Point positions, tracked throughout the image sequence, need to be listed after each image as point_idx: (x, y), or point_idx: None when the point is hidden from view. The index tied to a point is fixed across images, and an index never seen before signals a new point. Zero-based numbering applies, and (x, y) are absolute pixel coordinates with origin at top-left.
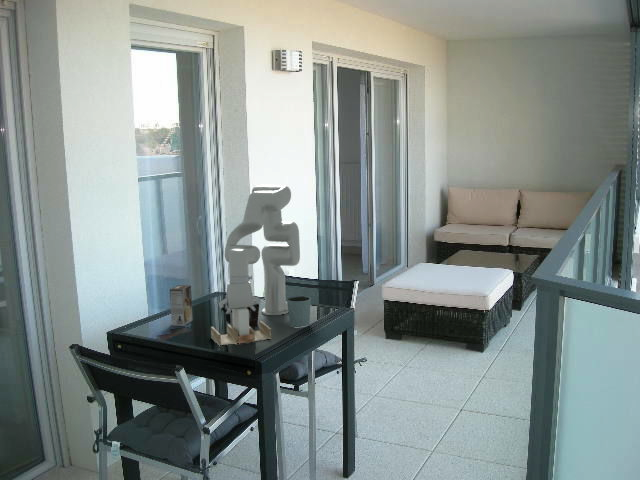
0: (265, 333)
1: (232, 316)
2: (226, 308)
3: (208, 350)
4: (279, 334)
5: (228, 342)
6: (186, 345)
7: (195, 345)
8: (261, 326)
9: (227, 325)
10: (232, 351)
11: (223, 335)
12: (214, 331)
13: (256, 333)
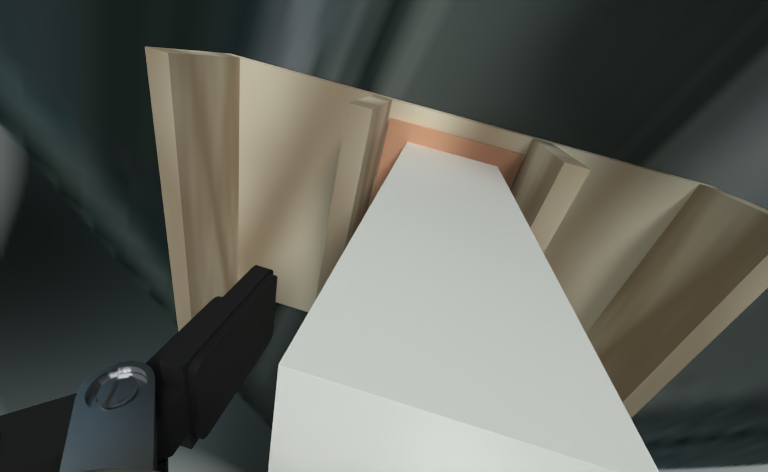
0: (596, 339)
1: (369, 211)
2: (74, 467)
3: (166, 295)
4: (714, 342)
5: (291, 285)
6: (41, 126)
7: (100, 167)
8: (689, 273)
9: (348, 111)
10: (270, 376)
11: (325, 108)
12: (171, 212)
13: (584, 248)
